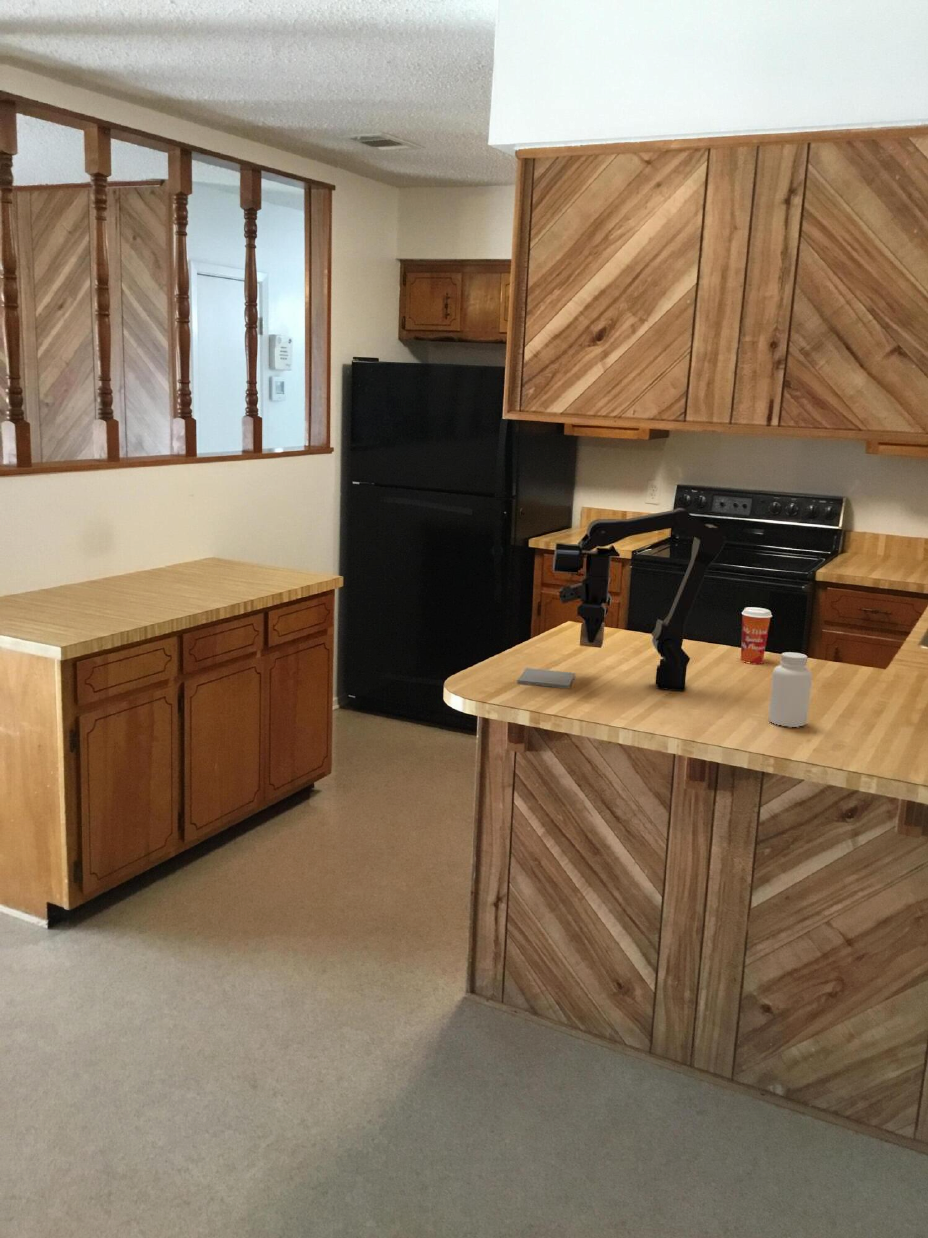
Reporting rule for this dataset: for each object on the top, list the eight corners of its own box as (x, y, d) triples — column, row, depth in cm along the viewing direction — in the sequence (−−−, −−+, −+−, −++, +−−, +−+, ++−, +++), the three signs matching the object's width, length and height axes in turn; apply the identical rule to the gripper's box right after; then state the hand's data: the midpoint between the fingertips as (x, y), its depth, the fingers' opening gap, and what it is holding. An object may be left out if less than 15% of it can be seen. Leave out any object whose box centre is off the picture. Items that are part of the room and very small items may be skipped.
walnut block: (603, 643, 254) (604, 622, 253) (601, 647, 249) (602, 626, 248) (581, 641, 255) (583, 620, 254) (579, 645, 250) (581, 624, 249)
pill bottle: (776, 715, 235) (784, 648, 232) (812, 723, 231) (820, 655, 227) (761, 722, 229) (769, 654, 226) (797, 731, 224) (805, 661, 221)
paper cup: (735, 663, 281) (741, 610, 278) (737, 656, 288) (742, 605, 285) (766, 666, 279) (772, 613, 276) (767, 660, 286) (773, 608, 283)
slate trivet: (574, 676, 260) (575, 673, 259) (568, 688, 248) (569, 685, 248) (525, 671, 262) (526, 668, 262) (517, 683, 251) (517, 680, 250)
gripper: (567, 565, 259) (562, 628, 262) (557, 577, 241) (552, 645, 245) (613, 569, 257) (608, 633, 260) (607, 581, 239) (601, 650, 242)
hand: (591, 640), depth 252 cm, fingers closed on walnut block, 5 cm apart
